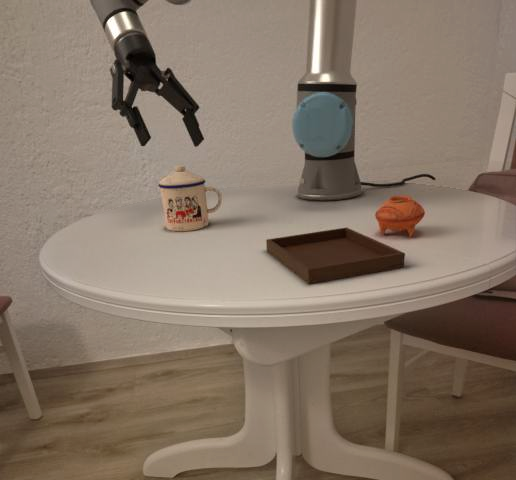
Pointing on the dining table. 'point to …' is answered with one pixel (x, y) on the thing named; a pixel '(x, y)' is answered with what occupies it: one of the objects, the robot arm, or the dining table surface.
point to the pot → (399, 214)
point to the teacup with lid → (186, 200)
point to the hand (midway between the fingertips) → (174, 142)
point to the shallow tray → (333, 254)
